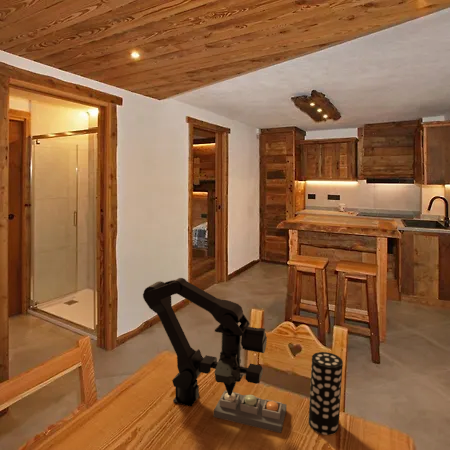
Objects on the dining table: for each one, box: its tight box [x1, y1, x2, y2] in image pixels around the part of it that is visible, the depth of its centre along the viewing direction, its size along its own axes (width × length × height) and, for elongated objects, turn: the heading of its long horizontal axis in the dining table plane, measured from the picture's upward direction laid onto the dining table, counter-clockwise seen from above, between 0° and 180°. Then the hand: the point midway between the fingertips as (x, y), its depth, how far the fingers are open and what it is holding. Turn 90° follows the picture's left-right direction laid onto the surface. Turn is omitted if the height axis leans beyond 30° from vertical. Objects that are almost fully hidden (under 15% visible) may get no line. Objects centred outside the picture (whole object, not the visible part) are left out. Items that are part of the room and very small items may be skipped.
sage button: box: [245, 394, 257, 407], centre depth 103 cm, size 3×3×2 cm
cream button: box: [224, 393, 236, 402], centre depth 105 cm, size 3×3×2 cm
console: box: [213, 390, 287, 434], centre depth 103 cm, size 20×10×4 cm, turn 72°
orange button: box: [266, 400, 278, 412], centre depth 101 cm, size 3×3×2 cm
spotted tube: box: [308, 351, 344, 436], centre depth 98 cm, size 8×8×20 cm
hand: (230, 394), depth 105 cm, fingers closed
